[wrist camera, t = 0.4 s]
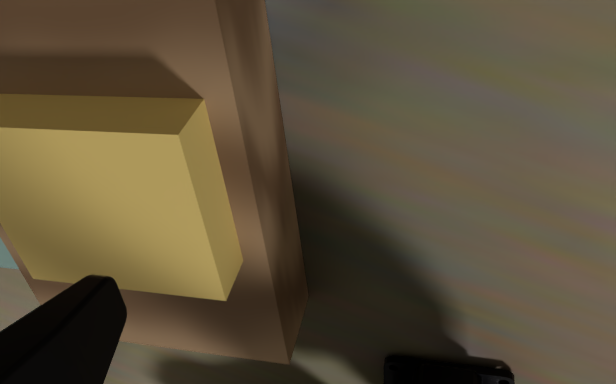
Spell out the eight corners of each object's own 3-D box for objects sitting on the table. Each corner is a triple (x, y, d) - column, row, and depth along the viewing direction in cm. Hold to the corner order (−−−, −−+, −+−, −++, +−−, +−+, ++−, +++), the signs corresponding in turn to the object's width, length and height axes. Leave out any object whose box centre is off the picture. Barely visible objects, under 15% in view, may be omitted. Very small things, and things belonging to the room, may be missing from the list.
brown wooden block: (308, 296, 28) (289, 364, 25) (97, 273, 31) (57, 332, 28) (238, -175, 16) (183, -151, 13) (-103, -142, 19) (-212, -117, 16)
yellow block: (243, 260, 22) (225, 301, 20) (61, 243, 23) (33, 278, 22) (204, 98, 17) (178, 135, 16) (-16, 93, 19) (-58, 125, 18)
